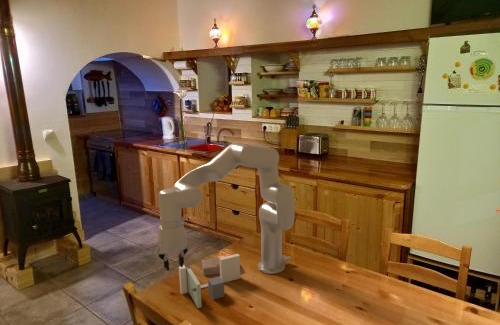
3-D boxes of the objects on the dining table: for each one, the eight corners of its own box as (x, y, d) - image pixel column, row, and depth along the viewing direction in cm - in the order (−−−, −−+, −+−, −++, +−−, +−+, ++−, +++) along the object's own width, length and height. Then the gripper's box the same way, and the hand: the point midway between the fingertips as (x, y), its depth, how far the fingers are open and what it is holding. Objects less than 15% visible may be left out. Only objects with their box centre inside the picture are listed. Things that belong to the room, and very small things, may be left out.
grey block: (219, 290, 152) (219, 276, 150) (224, 296, 147) (223, 282, 146) (208, 293, 150) (208, 279, 148) (212, 299, 145) (212, 285, 144)
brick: (203, 276, 163) (203, 267, 162) (201, 267, 171) (200, 258, 169) (239, 271, 167) (239, 262, 166) (235, 262, 175) (235, 254, 174)
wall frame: (238, 275, 162) (237, 252, 160) (240, 278, 160) (239, 254, 158) (180, 291, 151) (178, 266, 149) (181, 294, 149) (180, 269, 146)
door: (201, 307, 140) (200, 283, 137) (194, 309, 138) (193, 285, 136) (190, 287, 153) (189, 266, 150) (184, 289, 152) (182, 267, 149)
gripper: (190, 215, 140) (192, 258, 144) (145, 222, 132) (149, 268, 137) (196, 221, 133) (198, 266, 137) (149, 230, 126) (153, 277, 130)
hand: (174, 266), depth 137 cm, fingers open, 4 cm apart
